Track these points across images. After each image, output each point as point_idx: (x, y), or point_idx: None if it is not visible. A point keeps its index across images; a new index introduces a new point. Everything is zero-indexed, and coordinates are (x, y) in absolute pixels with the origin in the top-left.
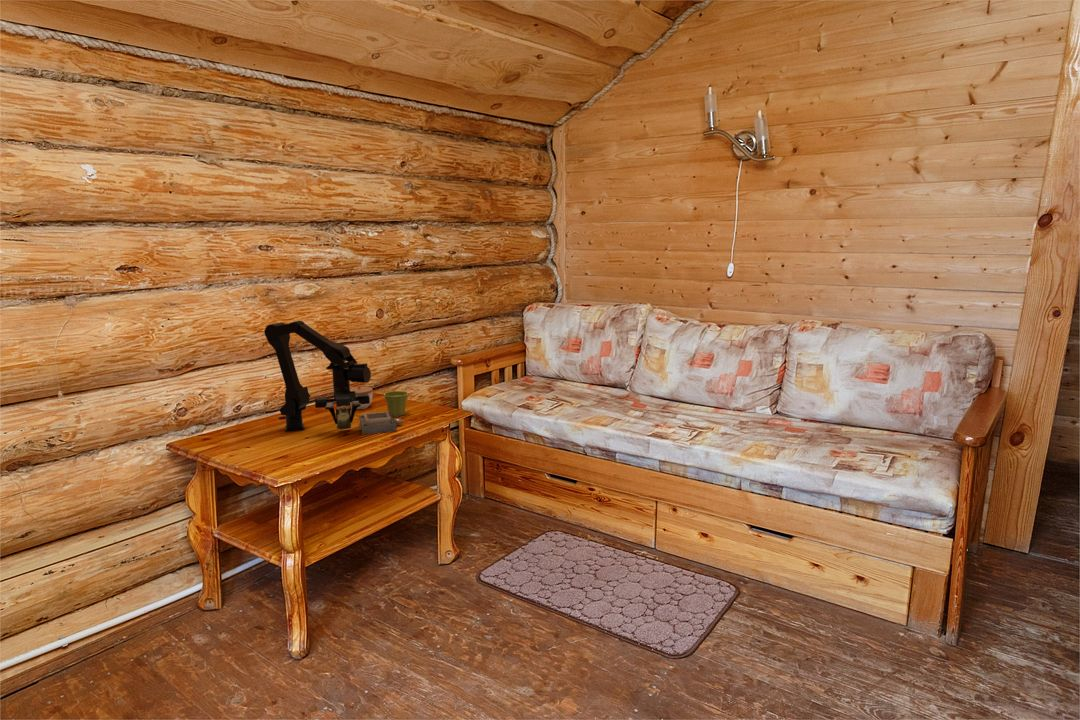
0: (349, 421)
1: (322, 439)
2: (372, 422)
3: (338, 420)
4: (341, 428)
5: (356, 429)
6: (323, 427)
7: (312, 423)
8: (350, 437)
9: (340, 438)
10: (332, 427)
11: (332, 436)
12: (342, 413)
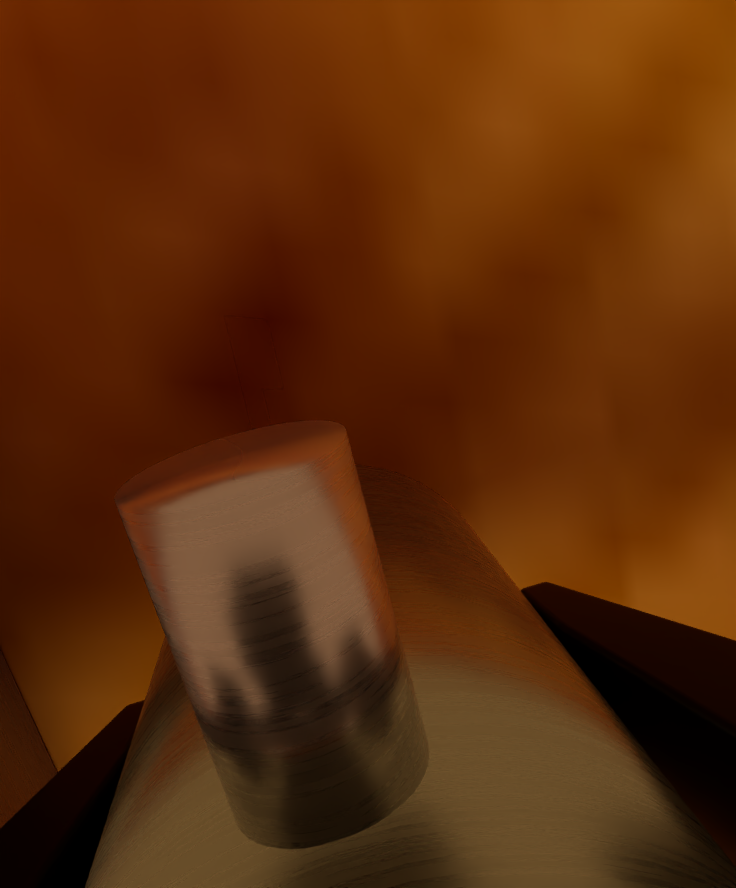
0: (161, 648)
1: (680, 68)
2: None
3: (493, 577)
4: (368, 470)
5: (119, 693)
6: None
7: None
8: (90, 138)
9: (309, 88)
10: None
11: (507, 265)
12: (314, 463)
